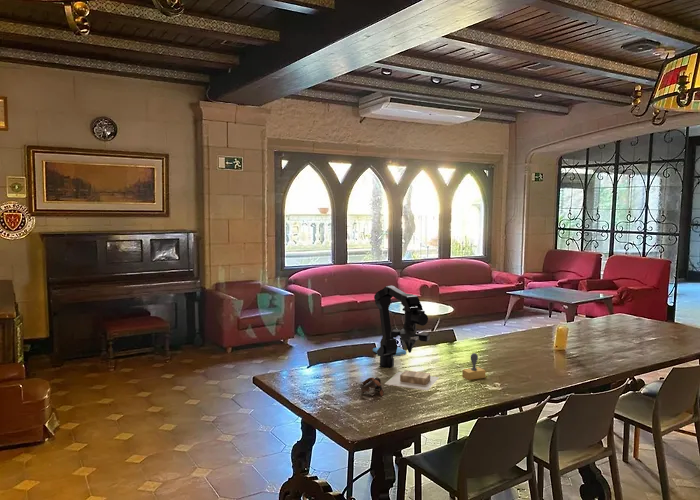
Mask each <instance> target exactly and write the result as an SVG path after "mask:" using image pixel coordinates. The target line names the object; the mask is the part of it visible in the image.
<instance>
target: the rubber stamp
mask: <svg viewBox="0 0 700 500" xmlns="http://www.w3.org/2000/svg"><path fill="white" fill-rule="evenodd" d="M478 359H479V356H478V354H477V353H475V352H473V353H471V355H470V361H471V364H472V367H471V368H465V369H462V375H461V376H462V378H464V379H466V380H468V381H471V380H478V379H486V376H487V375H486V373H487V370H485V369H484V368H481V367H479V366H478V367H476V365H477V362H478Z"/></svg>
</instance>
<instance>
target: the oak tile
mask: <svg viewBox="0 0 700 500" xmlns="http://www.w3.org/2000/svg"><path fill="white" fill-rule="evenodd" d="M402 372H403V373H402V374H401V375H400V381H401V382H408V383H415V384H422V385H426V384H427V383H428V382H429V381H430V376H431V373H429V372H421V371H414V370H404V371H402Z"/></svg>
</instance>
